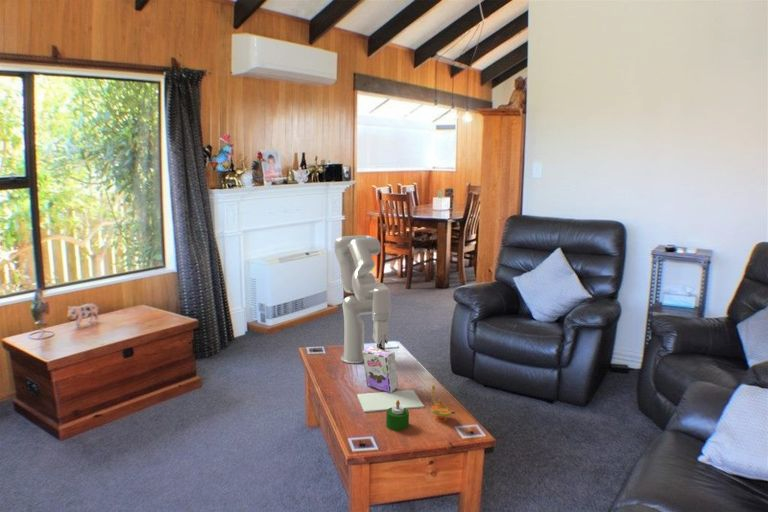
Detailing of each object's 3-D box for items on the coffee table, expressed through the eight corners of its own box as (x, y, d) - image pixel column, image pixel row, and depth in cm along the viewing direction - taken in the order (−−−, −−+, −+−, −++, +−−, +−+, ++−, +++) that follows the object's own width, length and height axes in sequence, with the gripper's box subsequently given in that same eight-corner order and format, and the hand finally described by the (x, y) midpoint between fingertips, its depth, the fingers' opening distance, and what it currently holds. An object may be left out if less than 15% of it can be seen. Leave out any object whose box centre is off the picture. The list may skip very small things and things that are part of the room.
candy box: (366, 386, 251) (361, 350, 247) (375, 380, 255) (370, 345, 251) (390, 393, 241) (385, 357, 238) (399, 387, 246) (394, 351, 242)
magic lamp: (446, 432, 210) (447, 404, 208) (423, 412, 226) (423, 385, 225) (462, 429, 213) (464, 401, 211) (438, 409, 229) (439, 382, 227)
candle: (391, 432, 210) (392, 406, 208) (382, 422, 217) (383, 397, 216) (412, 428, 213) (413, 402, 211) (402, 419, 221) (403, 394, 219)
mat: (356, 395, 241) (356, 394, 241) (413, 391, 246) (413, 389, 246) (364, 412, 226) (364, 410, 226) (423, 407, 231) (423, 405, 231)
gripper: (369, 311, 254) (368, 352, 257) (376, 321, 240) (375, 364, 243) (385, 311, 256) (385, 351, 259) (393, 320, 242) (393, 362, 245)
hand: (380, 357), depth 251 cm, fingers closed
